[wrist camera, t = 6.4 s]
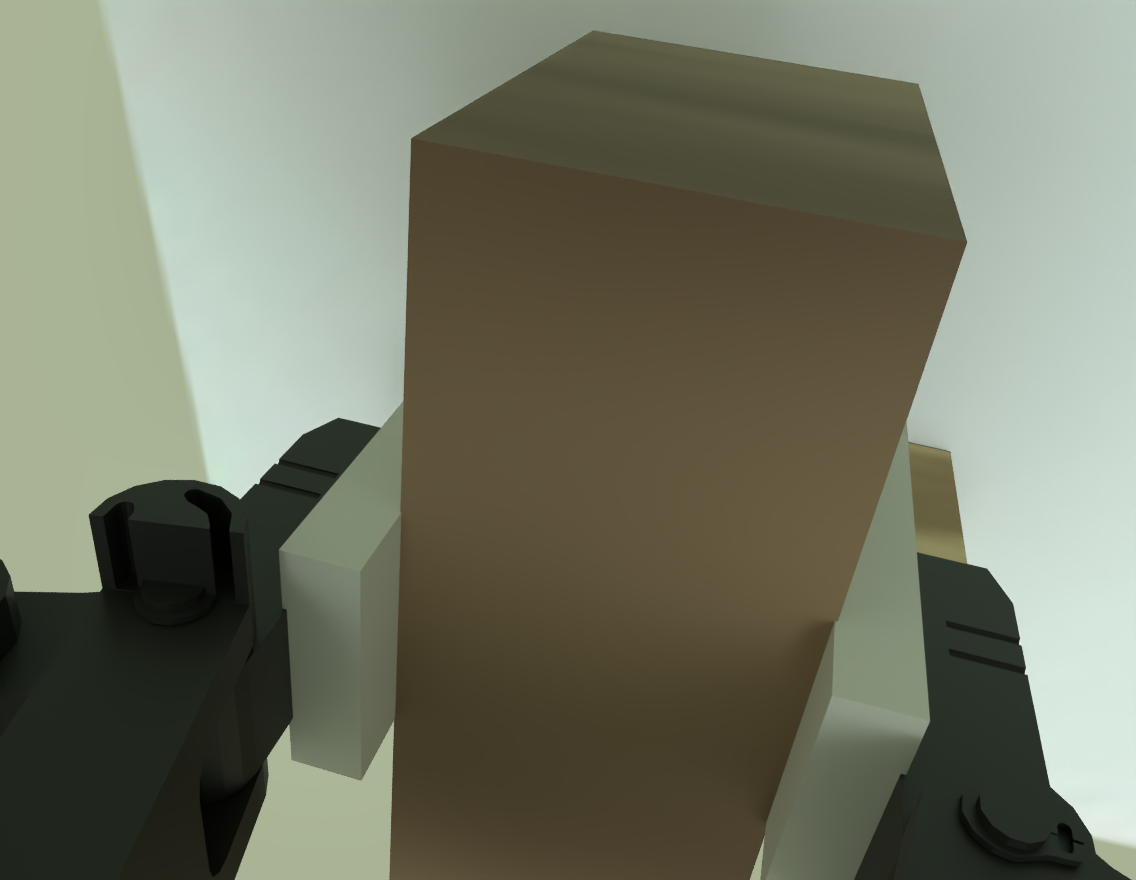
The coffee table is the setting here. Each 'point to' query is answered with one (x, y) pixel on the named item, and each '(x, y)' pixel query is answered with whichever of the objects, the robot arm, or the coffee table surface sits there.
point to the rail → (644, 445)
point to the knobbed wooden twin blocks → (935, 504)
